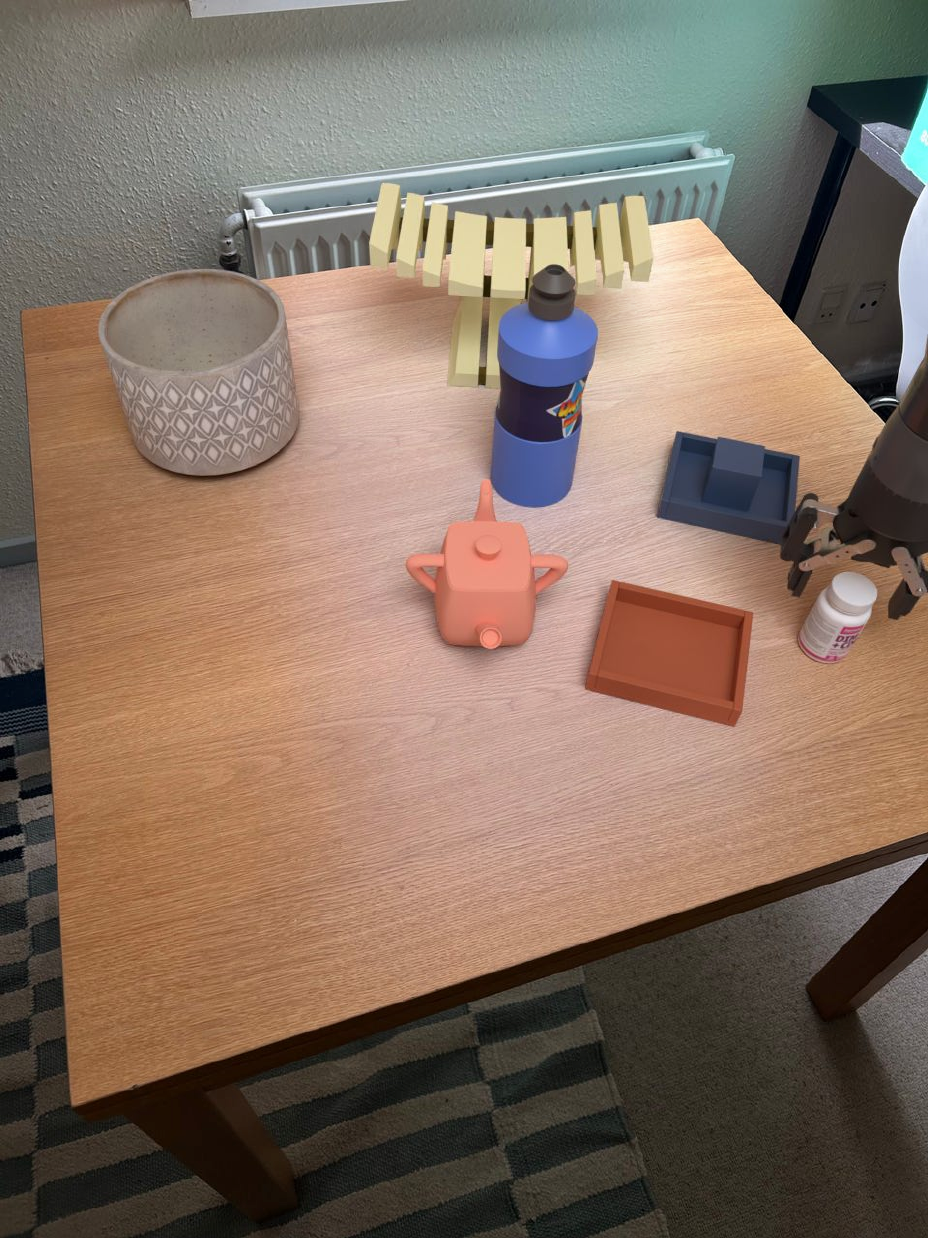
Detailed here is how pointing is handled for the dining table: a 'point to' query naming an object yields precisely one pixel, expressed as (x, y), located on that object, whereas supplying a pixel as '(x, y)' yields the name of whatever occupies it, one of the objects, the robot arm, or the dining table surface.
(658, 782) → the dining table surface
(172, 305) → the planter
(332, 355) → the dining table surface
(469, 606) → the teapot
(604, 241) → the slatted curved stool
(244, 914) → the dining table surface
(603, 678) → the terracotta tray
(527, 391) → the water bottle
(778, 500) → the blue tray
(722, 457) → the blue block
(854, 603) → the pill bottle
